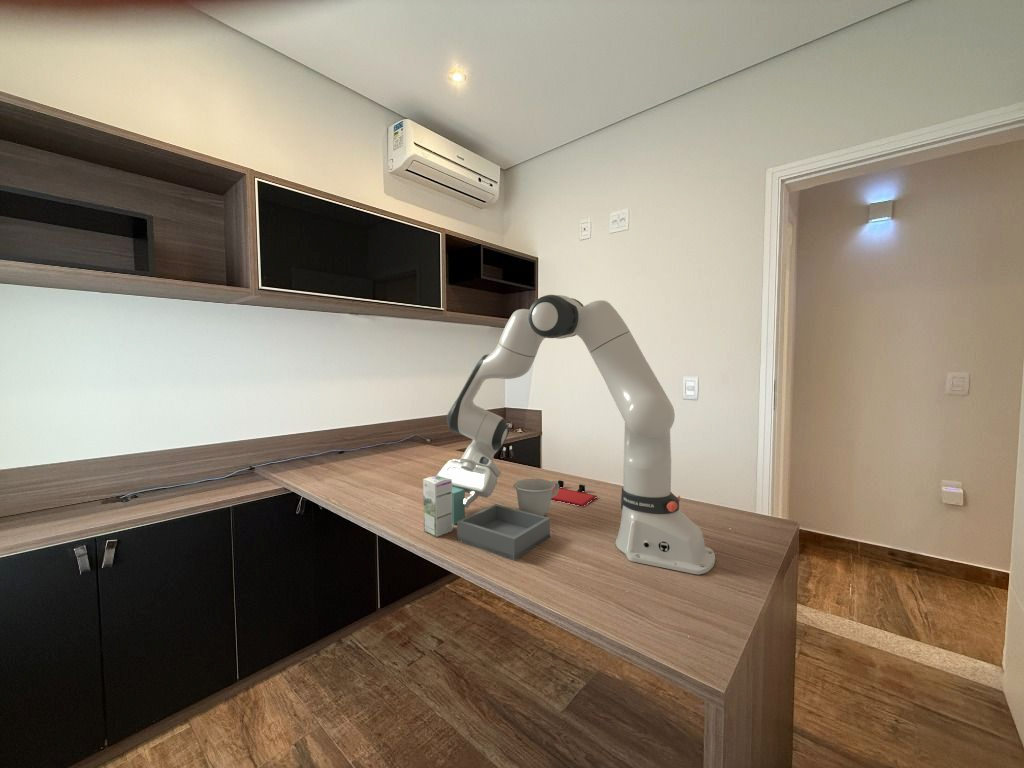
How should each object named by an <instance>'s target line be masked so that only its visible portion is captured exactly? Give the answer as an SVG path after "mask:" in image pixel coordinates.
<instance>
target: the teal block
mask: <svg viewBox="0 0 1024 768" xmlns="http://www.w3.org/2000/svg"><path fill="white" fill-rule="evenodd" d="M464 499H466V492H465V489H461V488H457V487H452V524H453V525H452V526H455V525H457V524H456V523H457V521H458V520H461V519H463V518H465V517H466V507H463V506H462V502H463V500H464ZM454 524H455V525H454Z"/></svg>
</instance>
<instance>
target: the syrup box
mask: <svg viewBox="0 0 1024 768" xmlns="http://www.w3.org/2000/svg"><path fill="white" fill-rule="evenodd" d="M422 484H423V485H422V486H423V487H422V488H423V489H422V490H423V531H424V532H425V533H427V534H429V535H431V536H433V537H435V538H436V537H437V538H438V537H441V536H444V535H446V534H449V533H451V532H453V525H452V479H450V478H447V477H443V476H440V475H437V474H436V475H432V476H428V477H426V478H422ZM448 532H449V533H448ZM443 534H444V535H443Z"/></svg>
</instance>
